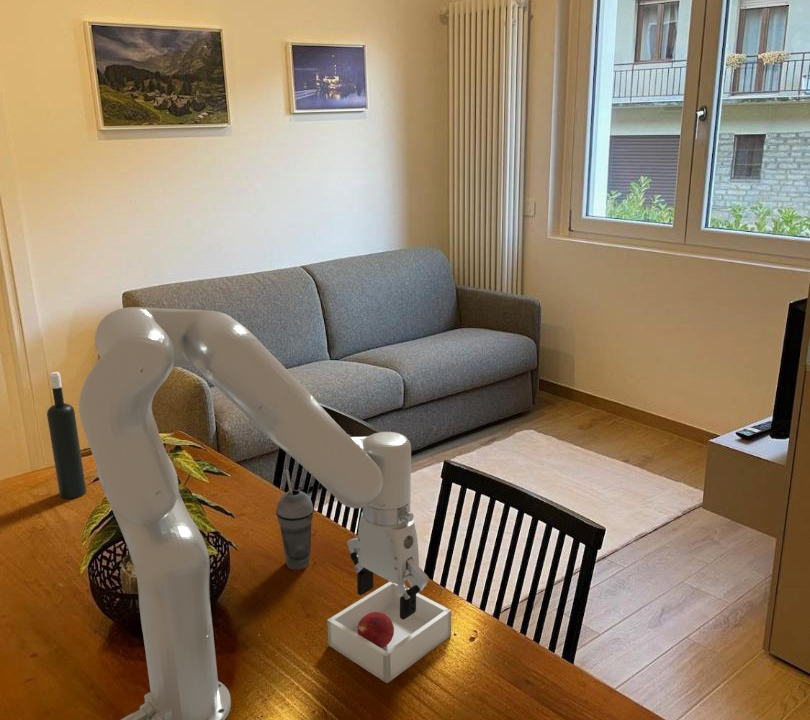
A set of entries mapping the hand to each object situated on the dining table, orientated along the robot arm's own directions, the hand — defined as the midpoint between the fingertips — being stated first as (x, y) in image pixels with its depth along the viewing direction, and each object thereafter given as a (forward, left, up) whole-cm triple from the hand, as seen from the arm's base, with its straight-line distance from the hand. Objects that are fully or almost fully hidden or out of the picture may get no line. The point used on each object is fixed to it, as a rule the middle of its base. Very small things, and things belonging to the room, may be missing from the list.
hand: (386, 603), depth 128 cm
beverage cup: (+6, +30, -8) cm, 31 cm away
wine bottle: (-10, +93, -8) cm, 94 cm away
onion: (0, 0, -6) cm, 6 cm away
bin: (+1, 0, -8) cm, 8 cm away
